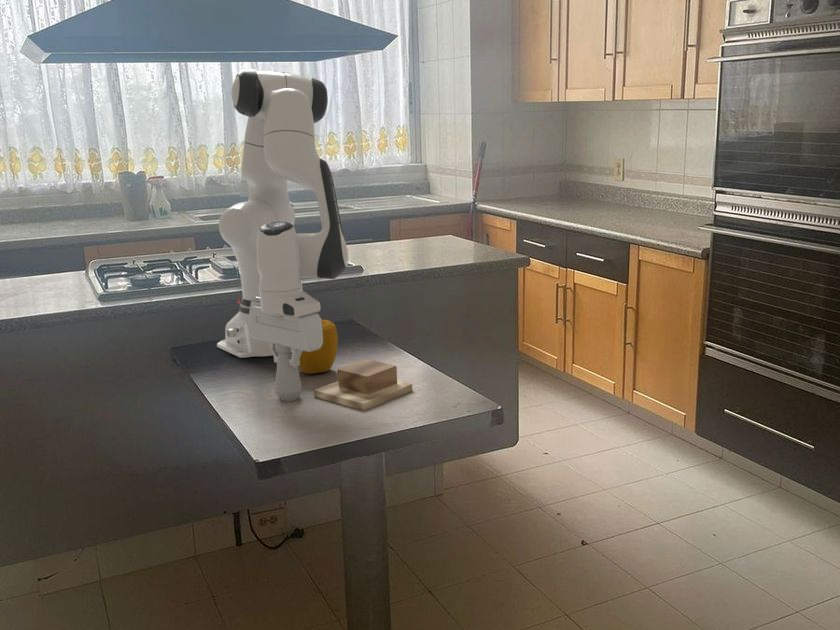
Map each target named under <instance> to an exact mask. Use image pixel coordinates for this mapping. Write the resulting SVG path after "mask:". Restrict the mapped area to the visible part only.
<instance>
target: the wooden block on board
mask: <svg viewBox="0 0 840 630" xmlns="http://www.w3.org/2000/svg"><path fill="white" fill-rule="evenodd" d="M397 369H398V368H397V365H395V364H391V363H387V362H382V361H377V360H372V359H369V358H365V359H362V360H360V361H357V362H354V363H351V364H349V365H345V366H343V367H340V368H337V381H334V382H331V383H329V384H326V385H323V386H320V387H318V388H315V389H313V395H314V397H315V398H318V399H322V400H326V401H330V402H333V403H336V404H340V405H343V406H346V407H349V408H353V409H357V410H360V411H367V410H369V409H371V408H374V407H377V406H378V405H381V404H383V403H386V402H388V401H391V400H393V399H396V398H397V397H400V396H403V395H405V394H407V393H410V392H412V391H413V384H412V383H410V382H405V381H401V380H398V370H397Z"/></svg>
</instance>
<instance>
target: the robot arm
mask: <svg viewBox="0 0 840 630" xmlns="http://www.w3.org/2000/svg"><path fill="white" fill-rule="evenodd" d="M230 92H231V100H232V103H233V104H232V105H233V107H234V109H235V110H236V111H237V112H238V114H241V115H243V116H245V117H247V122H246V127H245V133H244V142H243V147H242V148H243V149H242V156H241V157H242V161H241V169H240V172H241V175H242V177H243V178H244V179H245V181H246V184H247V189H248V199H247V201H241V202H237V203H235V204H233V205H231V206H230V207H228V208H227V209H225V210H224V211H223V212H222V214H221V215H220V217H219V220H218V230H219V231H218V232H219V234H220V236H221V238H222V240H224V242H225V243H226V244H228V245H229V246H230V248H232V252H233V253H234V256H235V259H236V261H237V265H238V268H239V273H240V274H239V275H240V283H241V292H242V297H241V298H238V299H236V301H238V302H237V304H238V305H239V308H238V309H239V311H238V312H237V313H236V314H235V315H234V316H233V317H232V318H231V319H230V320H229V321H228V322H227V323H226V325H225V333H224V335H225V339H222V340H220V341H219V342H217V343H216V347H217V348H219V349H221V350H222V351H225V352H226V353H229V354H232V355H234V356H236V357H238V358H241V359H243V358H250V357H251V358H252V357H270V356H271V357H272V356H273V362H274V363H276V364H277V362H278V352H276V349H275V344H276V343H279V344H281V345H283V346H286V347H290V348H291V352H293V353H292V357H291V358H290V359H288V360H289V366H290V367H294V368H295V367H297V368H298V367H299V365H300V360H299V358H300V356H301V354H302V351H307V352H311V351H315V350H318V349H320V348H321V346H322V344H323V331H322V322H321V319H322V318H321V316H320V315H319V314H320V313H318V312H320V311H321V303H320V301H319V300H317V299H315V298H314V297H313V296H311V295H310V294H308V293H307V292H306V291H304V290H303V283H302V280H301V279H309V278H313V279H314V278H317V279H325V280H327V279H328V280H335V279H336V278H338V277H339V276H341V275H342V274H343V273H344V272H345V270H346V269H347V268H348V264H349V251H348V247H347V243H346V240H345V237H344V233H343V227H342V223H341V216H340V212H339V205H338V200H337V193H336V189H335V184H334V180H333V175H332V171H331V168H330V166H329V164H328V163H327V161H326V160H324V159H323V158H321V157H320V156H319V154H318V152H317V149H316V144H315V143H316V142H315V124H316V123H318V122H320V121H321V120H322V119H323V118H324V117H325V115H326V111H327V108H328V104H329V102H328V101H329V97H328V96H329V95H328V89H327V87H326V84H325V83H323V81H321V80H320V79H317V78H314V77H312V76H309V77H306V76H303V75H300V74H299V75H298V74H295V73H291V72H286V71H285V72H284V71H282V72H281V71H280V72H278V71H272V70H271V71H269V70H256V68H253V69H252V68H251V69H249V68H247V69H242V70H241V69H240V71H239V72H238V73H237V74H236V75H235V79H234V81H233V83H232V84H231V91H230ZM287 181H289V182H293V183H295V184H297V185H301V186H304V187H306V188H308V189H310V190H311V191H313V193H315V196H316V200H317V205H318V206H317V207H318V211H319V217H320V224H321V230H320V231H319V232H311V233H310V232H307V233H306V232H305V233H297V232H296V228H295V226H294V225H295V221H296V213H295V210H294V207H293V206H292V205H291V203H290V200H289V193H288V185H287Z"/></svg>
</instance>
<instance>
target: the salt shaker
mask: <svg viewBox="0 0 840 630" xmlns="http://www.w3.org/2000/svg"><path fill="white" fill-rule="evenodd" d="M275 349H276V352H278V362H277V363H276V373H275V384H274V391H275V393H276V395H277V396H278V398H279V400H280V399H281V400H280V401H281V402H287V401H288V402H290V403H291V402H294V401H297V400H299V397H300V396H301V394H302V393H301V392H302V390H303V384H302V381H301V378H300V373H299V370H298V367H295V368H294V367H290V366H289V360H288V359H290V358H291V357H292V353H293V352H291V348H290V347H286V346H283V345H281V344H279V343H276V344H275Z"/></svg>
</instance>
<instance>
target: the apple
mask: <svg viewBox="0 0 840 630" xmlns="http://www.w3.org/2000/svg"><path fill="white" fill-rule="evenodd" d="M321 322H322V331H323V344H322V346H321V348H320V349H318V350H315V351H311V352H307V351H302V354H301V356H300V358H299V360H300V365H299V366H298V367H299V369H300V370H301V372H302V373H304V374H306V375H308V374H309V375H311V374H319V373H326V372H328V371H329V370H331V368H332V367H333V365H334V363H335V360H336V357H337V352H338V346H339V345H338V344H339V343H338V339H339V335H338V330H337V327H336V324H335V323H333V322H332V321H331V320H328V319H322V318H321Z"/></svg>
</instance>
